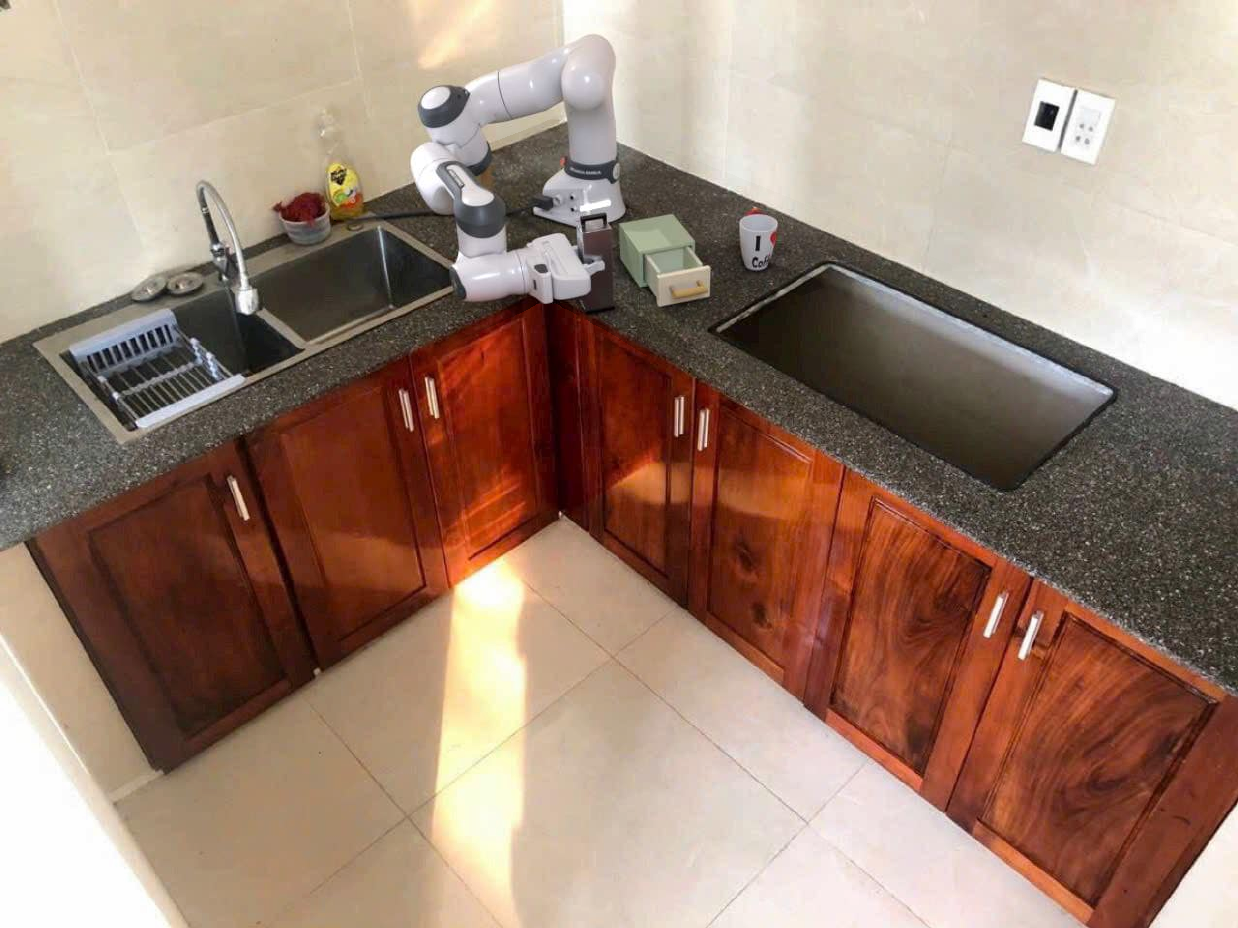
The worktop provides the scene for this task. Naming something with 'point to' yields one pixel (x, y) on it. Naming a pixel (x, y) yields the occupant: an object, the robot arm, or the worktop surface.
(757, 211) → the onion
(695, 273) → the drawer
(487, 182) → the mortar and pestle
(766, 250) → the cup
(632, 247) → the cabinet
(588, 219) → the grater
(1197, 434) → the worktop surface
